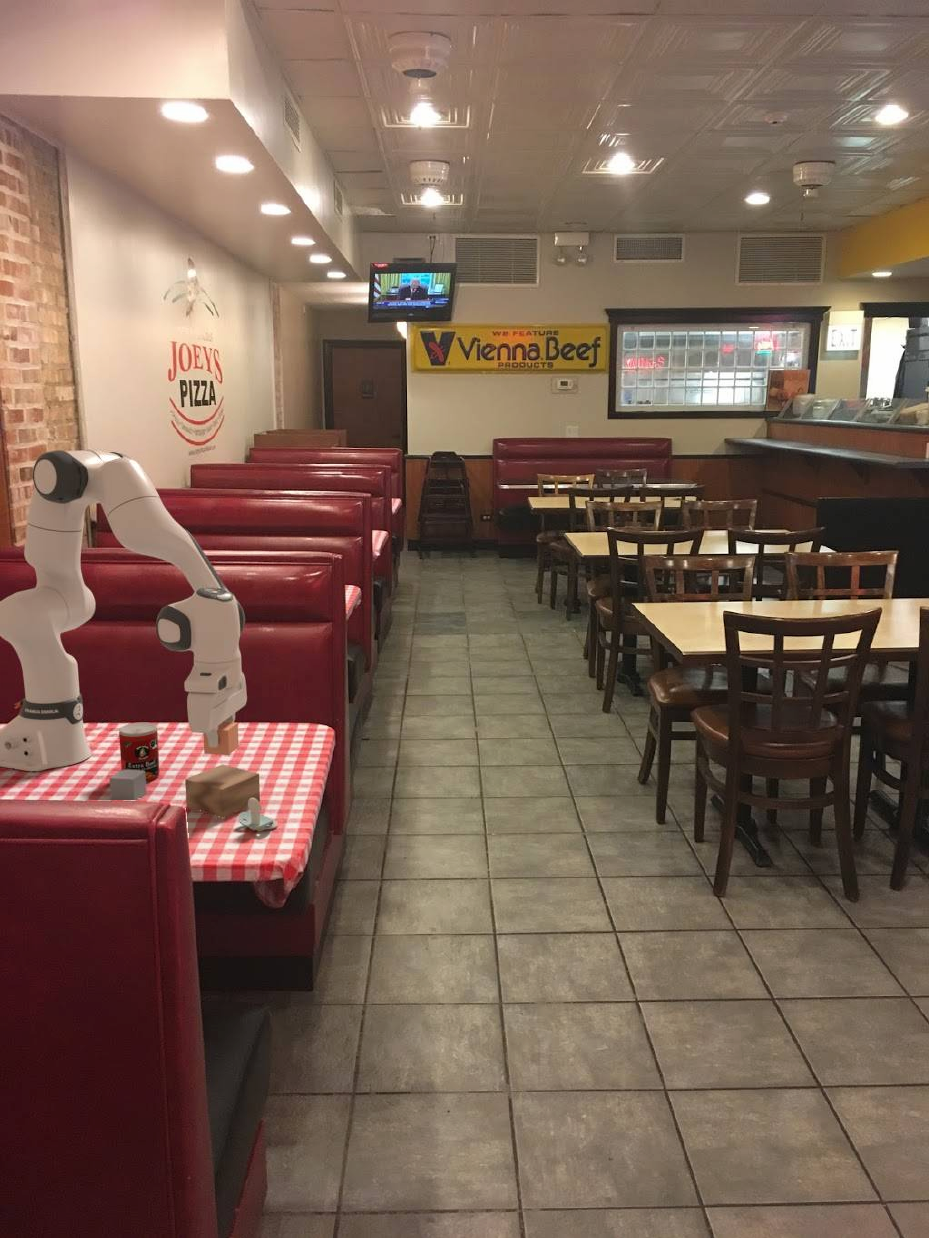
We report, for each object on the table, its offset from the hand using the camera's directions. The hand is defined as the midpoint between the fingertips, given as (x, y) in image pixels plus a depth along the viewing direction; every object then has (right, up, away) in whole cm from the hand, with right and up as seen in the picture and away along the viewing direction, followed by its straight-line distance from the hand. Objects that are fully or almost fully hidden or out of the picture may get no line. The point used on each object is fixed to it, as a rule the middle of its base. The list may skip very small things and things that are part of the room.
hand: (221, 741), depth 186 cm
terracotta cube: (0, -2, 0) cm, 2 cm away
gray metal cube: (-20, -12, +5) cm, 24 cm away
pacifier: (+9, -15, -8) cm, 20 cm away
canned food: (-21, -10, +17) cm, 29 cm away
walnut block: (0, -13, +3) cm, 13 cm away
